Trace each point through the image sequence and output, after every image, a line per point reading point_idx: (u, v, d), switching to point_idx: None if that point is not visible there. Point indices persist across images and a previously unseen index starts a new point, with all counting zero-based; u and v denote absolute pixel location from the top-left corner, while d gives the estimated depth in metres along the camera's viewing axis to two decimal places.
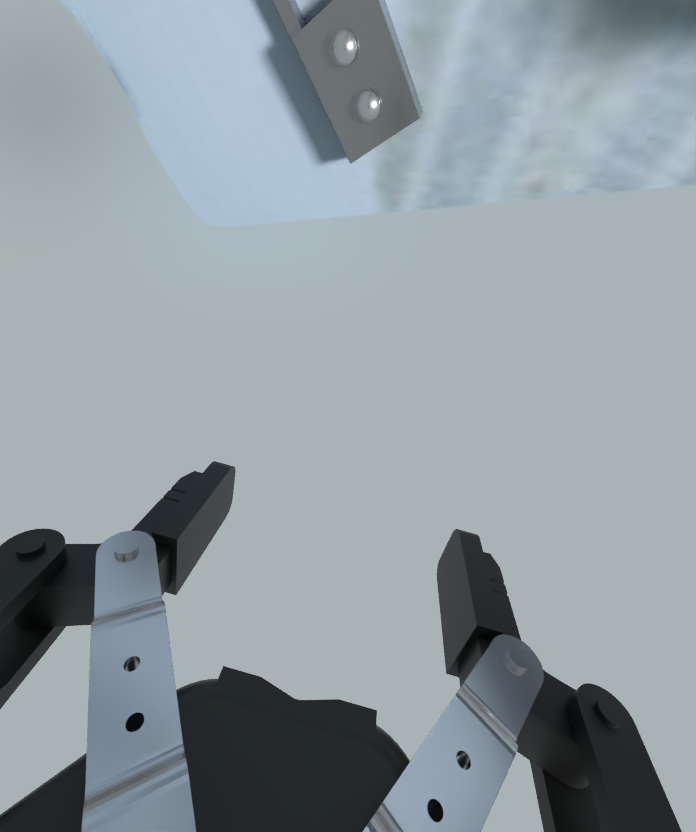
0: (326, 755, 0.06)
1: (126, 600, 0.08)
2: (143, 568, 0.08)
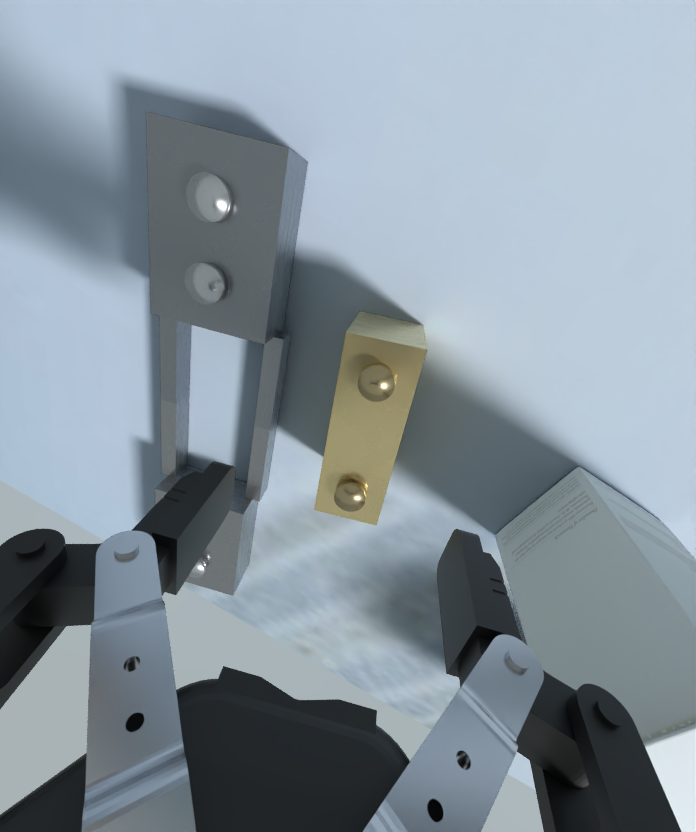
0: (326, 755, 0.06)
1: (126, 600, 0.08)
2: (143, 568, 0.08)
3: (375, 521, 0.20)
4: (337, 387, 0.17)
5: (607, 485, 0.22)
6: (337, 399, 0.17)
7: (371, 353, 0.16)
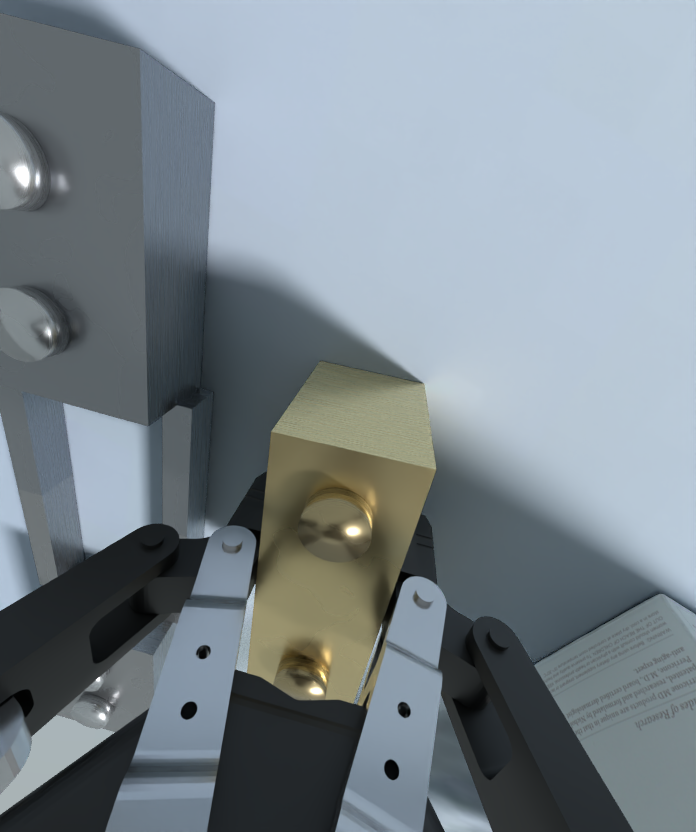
0: (326, 755, 0.06)
1: (218, 589, 0.08)
2: (251, 560, 0.09)
3: None
4: (264, 524, 0.09)
5: None
6: (266, 542, 0.09)
7: (324, 471, 0.08)
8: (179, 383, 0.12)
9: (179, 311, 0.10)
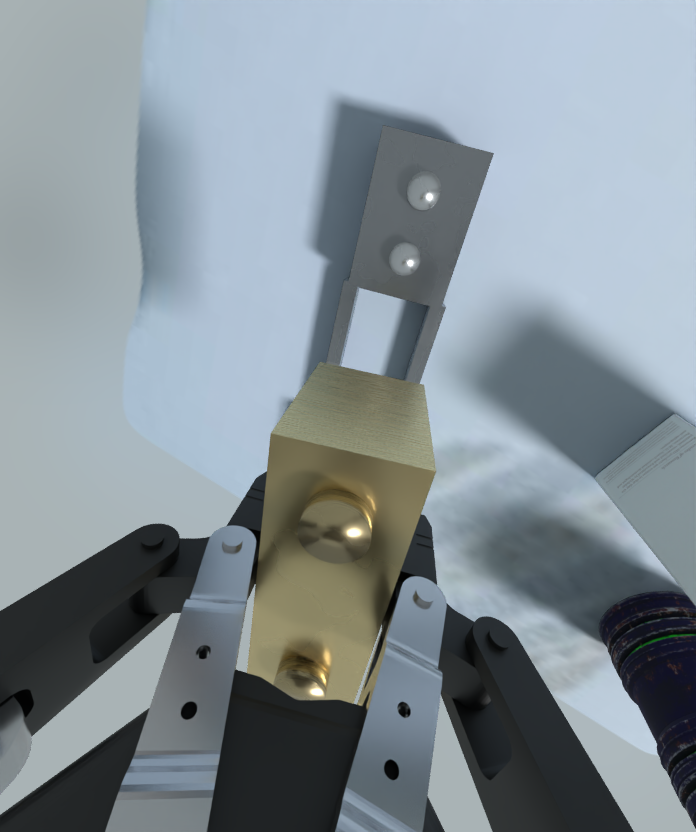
0: (326, 755, 0.06)
1: (218, 589, 0.08)
2: (251, 560, 0.09)
3: None
4: (264, 525, 0.09)
5: None
6: (266, 543, 0.09)
7: (324, 473, 0.08)
8: None
9: None
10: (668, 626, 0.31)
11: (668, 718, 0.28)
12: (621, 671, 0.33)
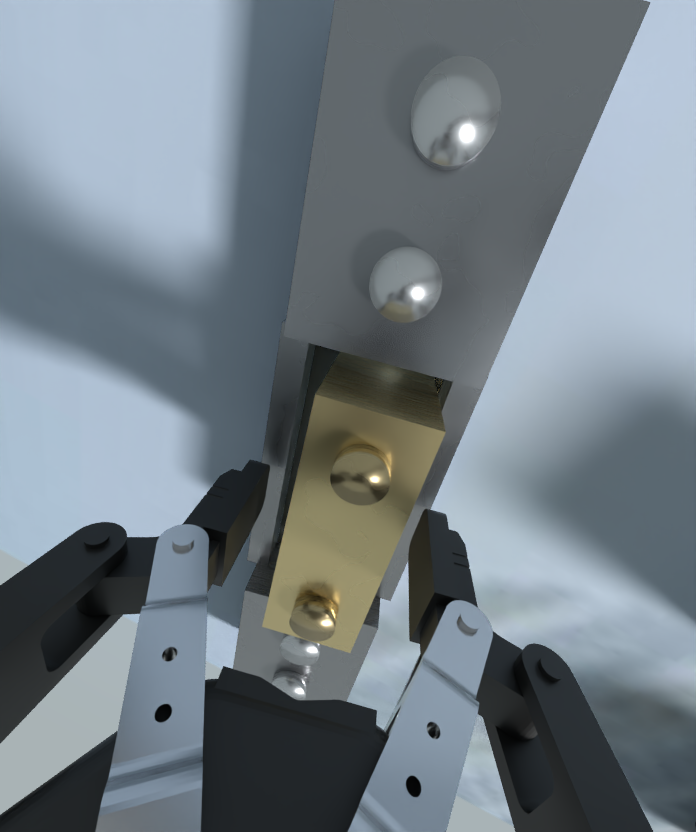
0: (326, 755, 0.06)
1: (175, 590, 0.08)
2: (201, 559, 0.09)
3: (349, 648, 0.14)
4: (299, 473, 0.11)
5: None
6: (299, 490, 0.11)
7: (355, 429, 0.10)
8: None
9: None
10: None
11: None
12: None
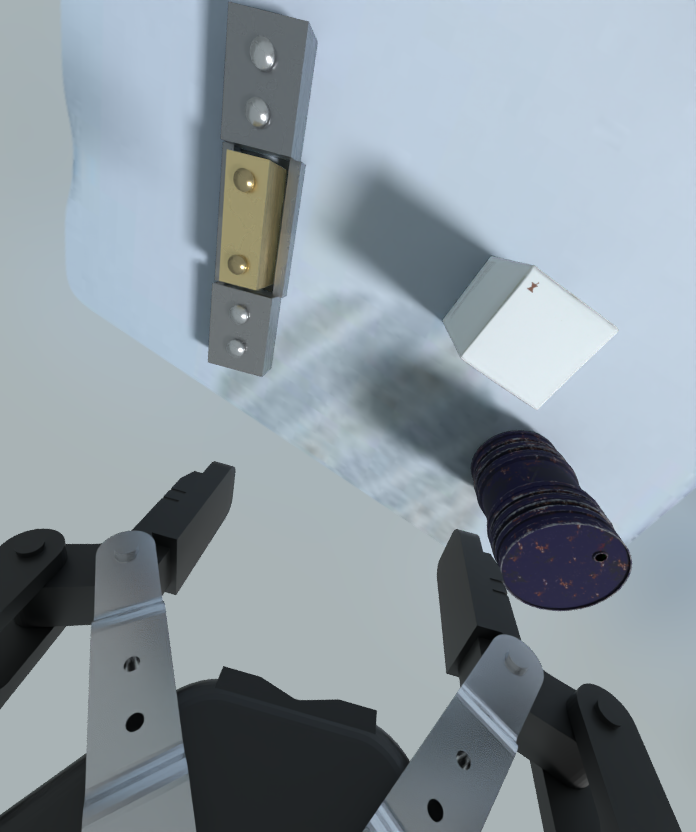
0: (326, 755, 0.06)
1: (126, 600, 0.08)
2: (143, 568, 0.08)
3: (255, 287, 0.33)
4: (225, 187, 0.30)
5: None
6: (226, 195, 0.30)
7: (241, 163, 0.29)
8: (297, 150, 0.31)
9: (301, 116, 0.30)
10: (508, 447, 0.38)
11: (493, 503, 0.35)
12: (477, 492, 0.40)
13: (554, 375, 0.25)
